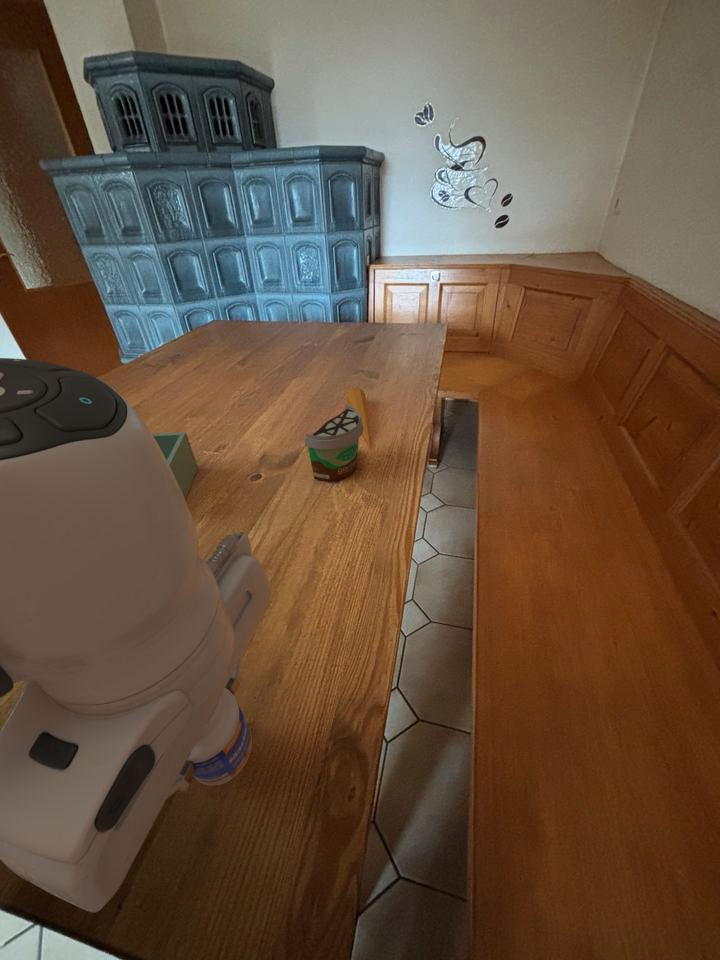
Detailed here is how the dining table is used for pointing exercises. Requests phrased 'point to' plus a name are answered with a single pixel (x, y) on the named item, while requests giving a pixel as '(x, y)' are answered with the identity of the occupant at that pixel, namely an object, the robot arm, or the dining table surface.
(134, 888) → the dining table surface
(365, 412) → the carrot
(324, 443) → the food container
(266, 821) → the dining table surface
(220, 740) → the pill bottle
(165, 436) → the tub
